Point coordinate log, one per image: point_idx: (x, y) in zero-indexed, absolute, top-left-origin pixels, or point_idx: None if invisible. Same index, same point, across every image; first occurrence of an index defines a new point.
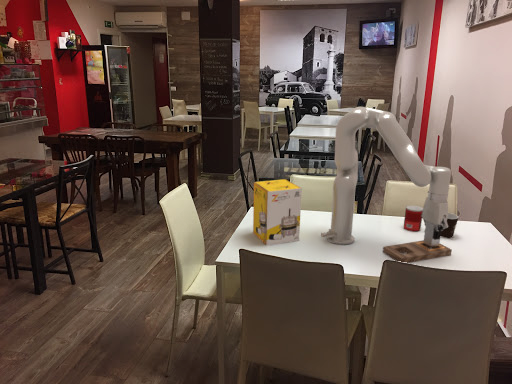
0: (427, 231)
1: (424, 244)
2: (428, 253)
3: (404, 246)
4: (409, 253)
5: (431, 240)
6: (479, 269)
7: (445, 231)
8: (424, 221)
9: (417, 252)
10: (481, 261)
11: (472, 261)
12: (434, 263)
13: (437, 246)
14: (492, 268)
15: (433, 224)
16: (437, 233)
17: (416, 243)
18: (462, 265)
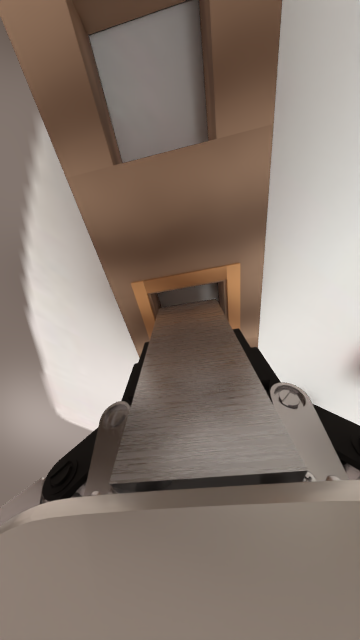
0: (208, 349)
1: (223, 307)
2: (100, 257)
3: (221, 133)
4: (87, 88)
5: (156, 325)
6: (49, 374)
7: None
8: (351, 429)
9: (110, 187)
10: (105, 401)
11: (103, 385)
12: (68, 258)
13: None
14: (64, 401)
15: (121, 477)
16: (129, 389)
17: (235, 264)
18: (69, 348)
